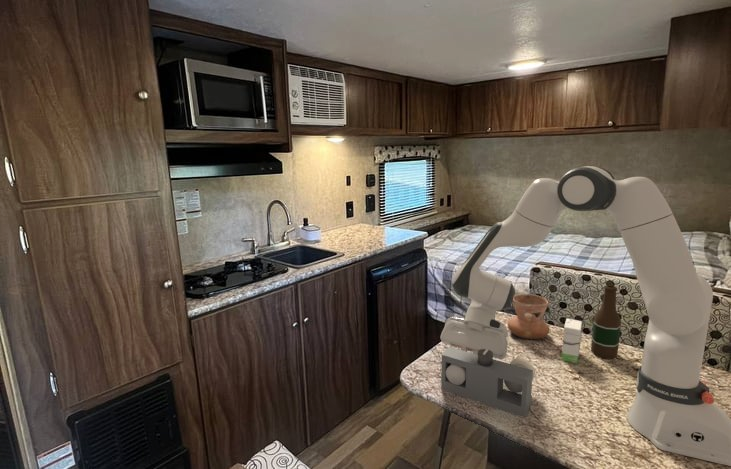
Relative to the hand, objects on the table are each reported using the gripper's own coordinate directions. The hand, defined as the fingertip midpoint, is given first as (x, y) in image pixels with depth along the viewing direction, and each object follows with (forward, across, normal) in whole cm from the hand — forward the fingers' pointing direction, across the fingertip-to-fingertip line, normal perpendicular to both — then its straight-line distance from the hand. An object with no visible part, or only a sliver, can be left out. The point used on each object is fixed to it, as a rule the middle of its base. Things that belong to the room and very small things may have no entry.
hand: (466, 364), depth 118 cm
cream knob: (+2, +15, +3) cm, 15 cm away
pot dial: (0, +8, -8) cm, 11 cm away
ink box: (-19, +24, +27) cm, 41 cm away
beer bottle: (-25, +33, +33) cm, 53 cm away
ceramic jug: (-26, +8, +34) cm, 44 cm away
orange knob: (+5, 0, -1) cm, 5 cm away
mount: (+8, +8, 0) cm, 11 cm away
